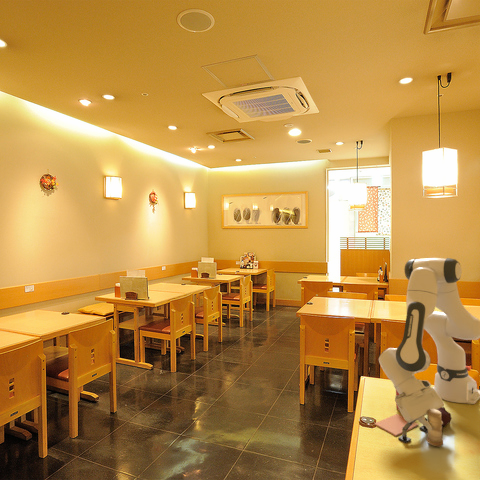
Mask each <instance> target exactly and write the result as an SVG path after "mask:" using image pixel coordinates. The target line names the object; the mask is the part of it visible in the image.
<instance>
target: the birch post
mask: <svg viewBox="0 0 480 480" xmlns="http://www.w3.org/2000/svg"><path fill="white" fill-rule="evenodd" d="M426 416H427V417H426V418H427V422H428V423H429V424H430V423H431V424H432V426H433V427H434V429H432V430H430V431H428V433H427V437H426V442H427V443H428V444H429V445H432V446H434V447H442V446H443V445H444V440H443V430H442V422H441V412H440V411H439V410H436V409H428V410H427V415H426Z"/></svg>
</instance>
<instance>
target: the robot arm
mask: <svg viewBox="0 0 480 480" xmlns="http://www.w3.org/2000/svg"><path fill="white" fill-rule="evenodd" d="M461 266H462V265H461V263H460V262H459V261H458V260H457V259H455V258H449V257H447V258H444V257H427V258H413V259H412V258H411V259H409V260H408V261H407V262H406V263H405V265H404V275H405V278H406V279H407V280H408V284H407V288H406V299H405V302H406V318H405V323H404V329H403V330H404V331H403V336H402V340H401V342H400V344H399V345H398V347H396V348H394V347H388V348H386V349H385V350H383V352H381V353H380V354H379V356H378V362H379V365H380V367H381V369H382V371H383V372H384V374H385V375H386V377H387V379H389V380H390V382H392V385H393V387H394V388H395V391H396V390H397V392H398V393H399V395H396V394H395V398H394V401H395V404H396V403H397V406H398V408H399V410H400V411H399V410H398V411H399V412H400V414H401V416H402V417H404V419H405V420H406V421H407V422H408V423H410V422H412V421H414V420H416V419H418V420H416V421H418V422H419V423H420V424H421V425H422V426H423V425H424V426H426V428H427V429H428V431H430V430H432V429H434V427H433V426H432V424H431V423H430V424H429V423H428V420H427V421H426V420H425V419H426V418H427V417H425V416H427V410H428V409H436V410H438V409H440V408H442V407H444V406H445V403H444V401H443V400H445V401H447V402H452V403H458V404H469V405H475V404H476V403H477V402H478V400H480V389H478V385H477V381H476V380H475V379H474V378H473V377H472V376H470V375H469V372H470V371H471V369H472V368H471V366H468V365H466V364H467V363H466V352H465V350H464V348H463V347H462V346H460V345H459V344H458V343H457V342H456V341H454V339H453V338H456V339H460V340H466V341H468V340H469V341H471V340H473V341H477V340H479V339H480V319H479V318H477V317H476V316H474V315H473V314H472V313H471V312H469V310H468V309H467V308H466V307H465V306H464V304H463V303H462V301H461V298H460V293H459V289H458V285H457V282H458V281H459V280H460V279H461V277H462V271H463V270H462V267H461ZM436 309H438V310H439V311H438V310H436ZM424 331H426V332H427V334H429V335H430V337H431V338H432V341H434V343H435V346H436V352H437V353H436V354H437V364H436V365H437V366H436V371H437V372H436V373H435V374H434V376H435V377H434V386H432V384H431V382H430V381H429V380H424V379H417V377H416V376H415V374H418V373H422V372H424V371H427V370H428V368H429V367H430V365H431V360H432V359H431V357H430V354H429V352H427V350H425V349H424V347H423V336H424ZM400 397H401V398H400ZM441 422H442V420H441ZM442 424H443V422H442Z"/></svg>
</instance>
